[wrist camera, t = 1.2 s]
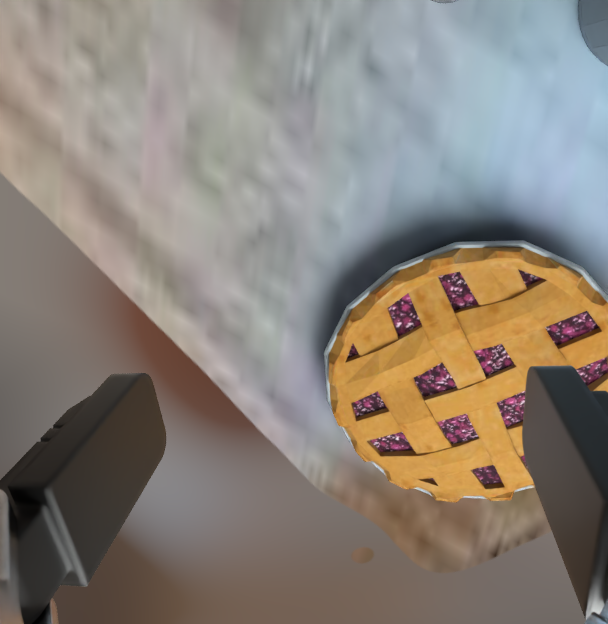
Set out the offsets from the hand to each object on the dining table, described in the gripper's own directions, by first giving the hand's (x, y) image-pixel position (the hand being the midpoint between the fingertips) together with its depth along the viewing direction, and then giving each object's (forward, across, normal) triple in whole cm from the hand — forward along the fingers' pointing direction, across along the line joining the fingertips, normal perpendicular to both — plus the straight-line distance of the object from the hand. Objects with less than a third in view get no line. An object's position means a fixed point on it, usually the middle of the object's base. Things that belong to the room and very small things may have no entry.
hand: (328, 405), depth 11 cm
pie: (+27, -7, +15) cm, 32 cm away
